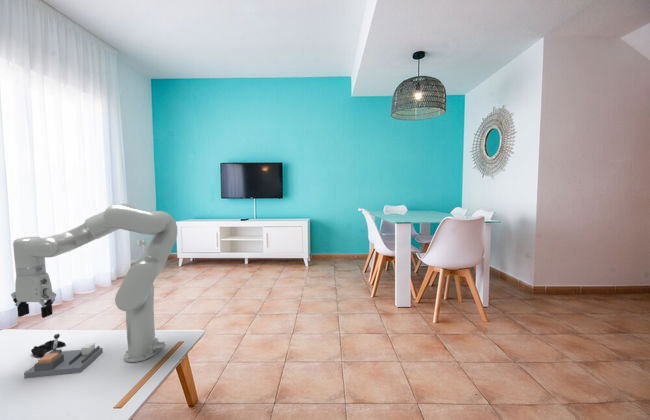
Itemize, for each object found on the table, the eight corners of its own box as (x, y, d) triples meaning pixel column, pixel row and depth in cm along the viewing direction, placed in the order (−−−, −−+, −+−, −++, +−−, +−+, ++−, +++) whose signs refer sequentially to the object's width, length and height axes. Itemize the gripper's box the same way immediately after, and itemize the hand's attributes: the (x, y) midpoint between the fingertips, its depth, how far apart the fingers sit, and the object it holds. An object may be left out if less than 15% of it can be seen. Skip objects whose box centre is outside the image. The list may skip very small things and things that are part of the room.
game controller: (41, 356, 111) (29, 345, 112) (36, 365, 112) (24, 354, 113) (67, 343, 120) (56, 333, 121) (63, 351, 121) (52, 341, 122)
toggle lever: (58, 349, 111) (61, 333, 113) (55, 350, 110) (58, 333, 111) (53, 350, 111) (56, 333, 113) (49, 351, 109) (52, 334, 111)
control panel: (102, 352, 115) (101, 341, 115) (80, 372, 102) (79, 360, 102) (53, 356, 112) (52, 346, 112) (24, 378, 99) (23, 366, 99)
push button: (59, 357, 105) (59, 352, 105) (51, 363, 101) (50, 358, 101) (47, 358, 105) (47, 353, 104) (38, 364, 101) (38, 360, 101)
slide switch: (95, 350, 113) (94, 343, 112) (90, 354, 110) (89, 347, 110) (86, 351, 112) (86, 344, 112) (81, 355, 109) (81, 348, 109)
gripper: (63, 268, 104) (66, 311, 105) (22, 267, 106) (26, 310, 107) (40, 274, 97) (45, 321, 98) (-3, 273, 98) (2, 319, 100)
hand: (35, 315), depth 103 cm, fingers open, 9 cm apart
